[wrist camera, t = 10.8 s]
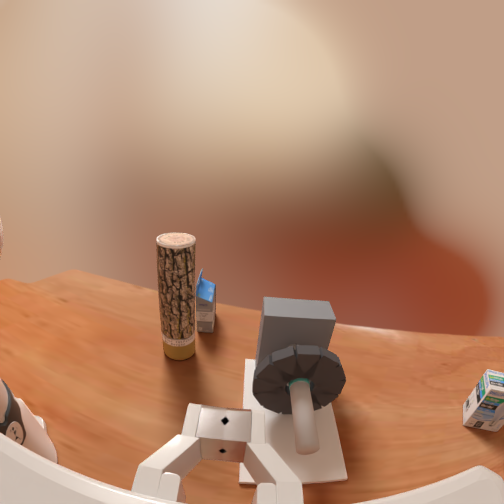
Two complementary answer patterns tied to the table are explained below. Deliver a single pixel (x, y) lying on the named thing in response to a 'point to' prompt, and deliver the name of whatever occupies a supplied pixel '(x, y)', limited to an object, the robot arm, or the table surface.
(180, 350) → the paper tube
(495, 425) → the light bulb box
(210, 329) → the label tape box
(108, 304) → the table surface
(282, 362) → the ring
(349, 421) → the table surface
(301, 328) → the pipe rig
